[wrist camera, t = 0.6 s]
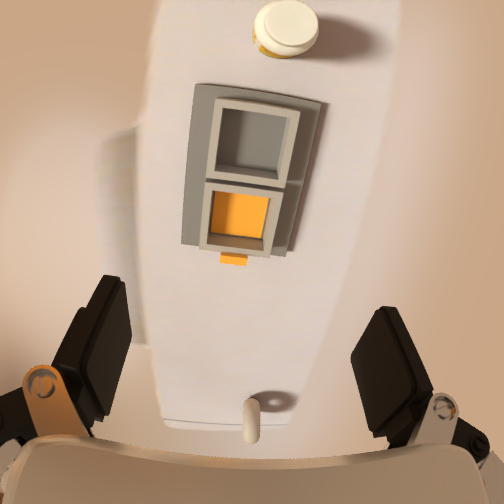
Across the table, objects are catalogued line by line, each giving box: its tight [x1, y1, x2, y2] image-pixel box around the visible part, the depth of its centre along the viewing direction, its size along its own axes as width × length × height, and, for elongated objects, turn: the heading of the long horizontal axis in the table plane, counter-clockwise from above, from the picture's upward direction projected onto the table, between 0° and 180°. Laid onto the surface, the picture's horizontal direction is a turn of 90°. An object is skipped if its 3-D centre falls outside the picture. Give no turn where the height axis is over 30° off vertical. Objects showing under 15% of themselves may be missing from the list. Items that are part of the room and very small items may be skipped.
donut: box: [243, 398, 260, 444], centre depth 56 cm, size 10×4×10 cm, turn 179°
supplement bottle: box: [252, 0, 319, 59], centre depth 22 cm, size 5×5×10 cm
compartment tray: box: [181, 84, 321, 266], centre depth 32 cm, size 19×13×4 cm
